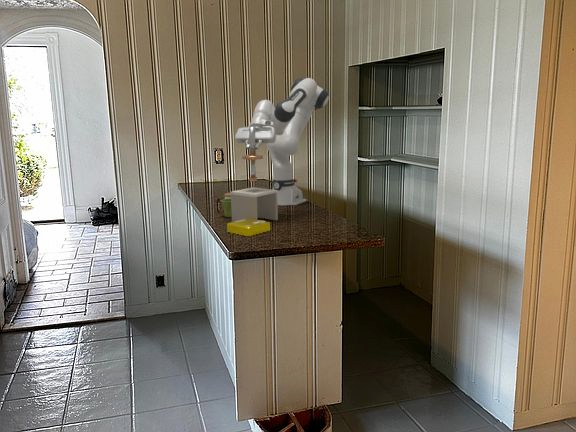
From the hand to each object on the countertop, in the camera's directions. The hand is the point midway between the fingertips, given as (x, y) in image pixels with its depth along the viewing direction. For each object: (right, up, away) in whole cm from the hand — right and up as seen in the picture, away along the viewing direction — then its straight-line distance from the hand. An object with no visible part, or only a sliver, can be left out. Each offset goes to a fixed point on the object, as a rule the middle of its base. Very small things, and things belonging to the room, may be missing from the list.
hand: (252, 148), depth 249 cm
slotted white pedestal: (+1, -35, +8) cm, 36 cm away
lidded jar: (-13, -28, +44) cm, 54 cm away
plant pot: (-13, -33, +20) cm, 40 cm away
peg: (0, -15, +4) cm, 16 cm away
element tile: (-1, -40, -13) cm, 42 cm away
